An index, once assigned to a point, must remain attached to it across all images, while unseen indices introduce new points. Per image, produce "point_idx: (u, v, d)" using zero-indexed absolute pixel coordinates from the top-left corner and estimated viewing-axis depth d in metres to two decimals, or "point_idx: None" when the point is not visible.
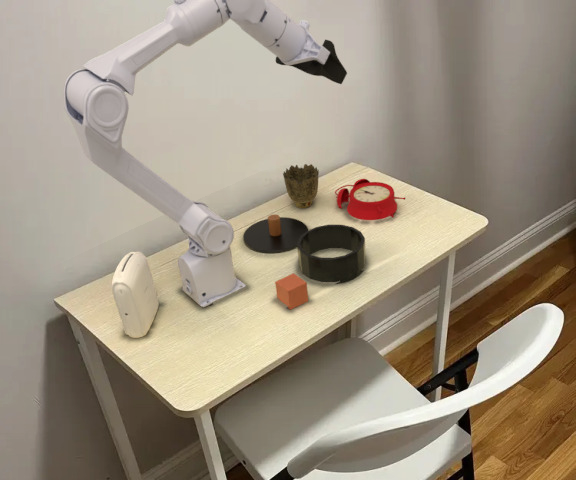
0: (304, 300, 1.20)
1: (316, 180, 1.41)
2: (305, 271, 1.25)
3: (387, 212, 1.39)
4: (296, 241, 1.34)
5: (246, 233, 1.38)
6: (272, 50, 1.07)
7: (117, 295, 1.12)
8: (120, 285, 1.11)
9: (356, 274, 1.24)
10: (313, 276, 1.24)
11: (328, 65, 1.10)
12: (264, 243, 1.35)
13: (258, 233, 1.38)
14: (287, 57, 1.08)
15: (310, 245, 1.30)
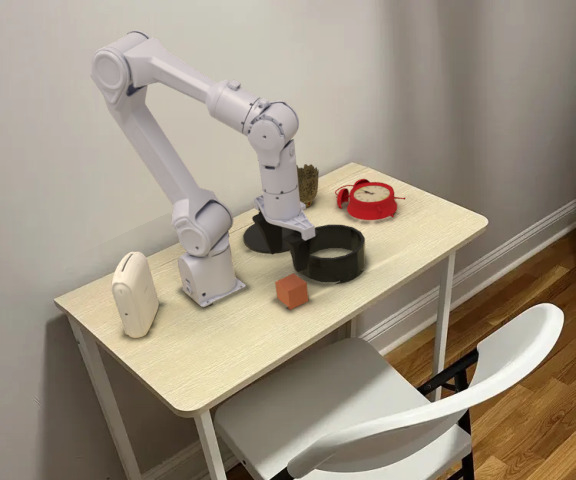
0: (304, 300, 1.20)
1: (316, 180, 1.41)
2: (305, 271, 1.25)
3: (387, 212, 1.39)
4: None
5: (246, 233, 1.38)
6: (269, 199, 1.06)
7: (117, 295, 1.12)
8: (120, 285, 1.11)
9: (356, 274, 1.24)
10: (313, 276, 1.24)
11: (301, 248, 1.10)
12: (264, 243, 1.35)
13: (258, 233, 1.38)
14: (275, 215, 1.07)
15: None
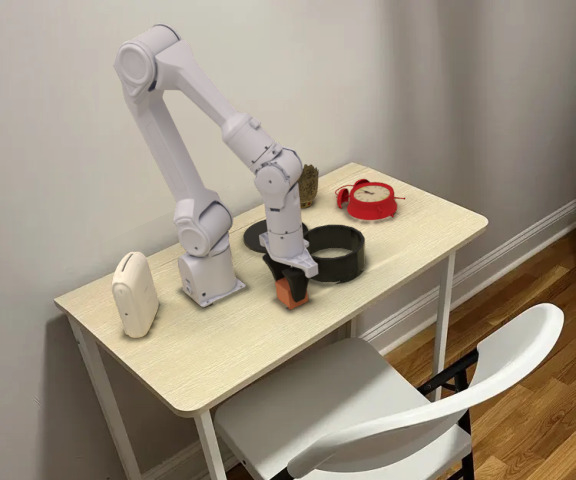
0: (304, 300, 1.20)
1: (316, 180, 1.41)
2: None
3: (387, 212, 1.39)
4: None
5: (246, 233, 1.38)
6: (274, 238, 1.10)
7: (117, 295, 1.12)
8: (120, 285, 1.11)
9: (356, 274, 1.24)
10: (313, 276, 1.24)
11: (299, 280, 1.16)
12: None
13: (258, 233, 1.38)
14: (280, 253, 1.12)
15: (310, 245, 1.30)
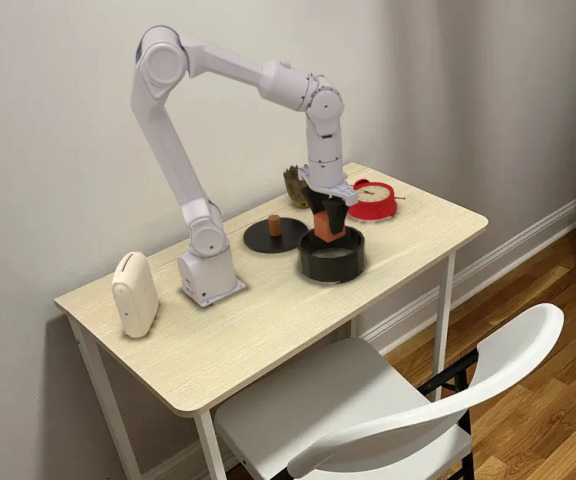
0: (341, 233, 1.23)
1: None
2: (305, 271, 1.25)
3: (387, 212, 1.39)
4: (296, 241, 1.34)
5: (246, 233, 1.38)
6: (315, 167, 1.13)
7: (117, 295, 1.12)
8: (120, 285, 1.11)
9: (356, 274, 1.24)
10: (313, 276, 1.24)
11: (337, 211, 1.18)
12: (264, 243, 1.35)
13: (258, 233, 1.38)
14: (320, 183, 1.14)
15: (310, 245, 1.30)
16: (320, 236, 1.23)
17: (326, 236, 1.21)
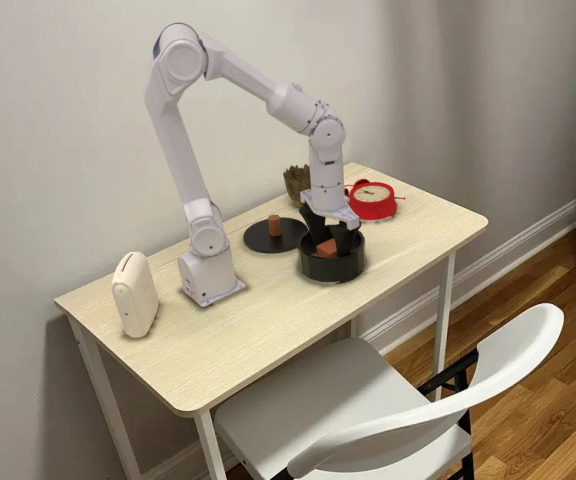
0: None
1: None
2: (305, 271, 1.25)
3: (387, 212, 1.39)
4: (296, 241, 1.34)
5: (246, 233, 1.38)
6: (318, 192, 1.16)
7: (117, 295, 1.12)
8: (120, 285, 1.11)
9: (356, 274, 1.24)
10: (313, 276, 1.24)
11: (344, 237, 1.20)
12: (264, 243, 1.35)
13: (258, 233, 1.38)
14: (322, 207, 1.17)
15: (310, 245, 1.30)
16: None
17: None
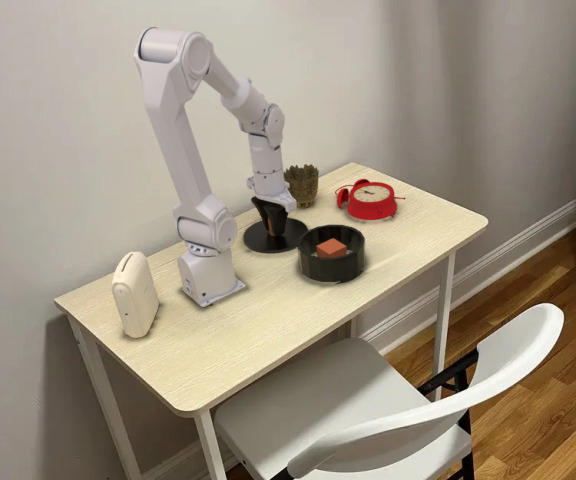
0: None
1: (316, 180, 1.41)
2: (305, 271, 1.25)
3: (387, 212, 1.39)
4: (296, 241, 1.34)
5: (246, 233, 1.38)
6: (258, 178, 1.27)
7: (117, 295, 1.12)
8: (120, 285, 1.11)
9: (356, 274, 1.24)
10: (313, 276, 1.24)
11: (278, 215, 1.33)
12: (264, 243, 1.35)
13: (258, 233, 1.38)
14: (263, 191, 1.28)
15: (310, 245, 1.30)
16: None
17: None
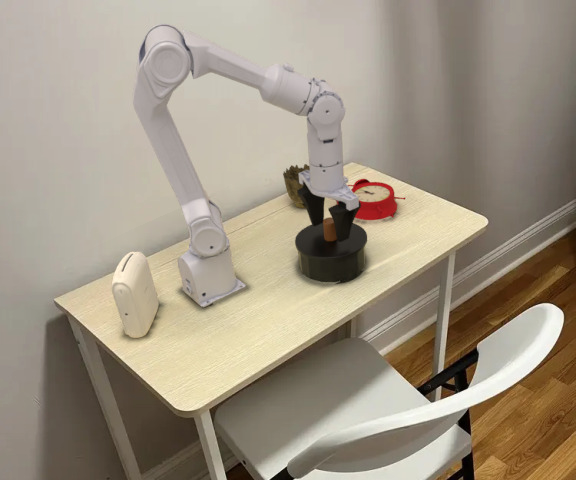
0: None
1: None
2: (305, 271, 1.25)
3: (387, 212, 1.39)
4: (355, 247, 1.21)
5: (298, 238, 1.26)
6: (316, 172, 1.14)
7: (117, 295, 1.12)
8: (120, 285, 1.11)
9: (356, 274, 1.24)
10: (313, 276, 1.24)
11: (344, 219, 1.18)
12: (319, 249, 1.22)
13: (311, 238, 1.25)
14: (321, 187, 1.15)
15: None
16: None
17: None
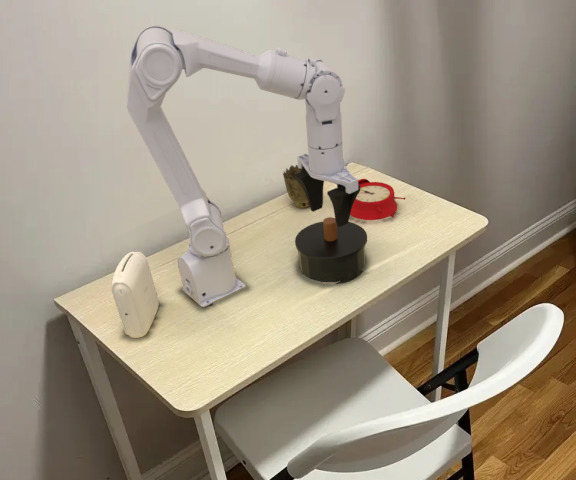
0: None
1: None
2: (305, 271, 1.25)
3: (387, 212, 1.39)
4: (355, 247, 1.21)
5: (298, 238, 1.26)
6: (315, 154, 1.11)
7: (117, 295, 1.12)
8: (120, 285, 1.11)
9: (356, 274, 1.24)
10: (313, 276, 1.24)
11: (343, 203, 1.16)
12: (319, 249, 1.22)
13: (311, 238, 1.25)
14: (320, 170, 1.13)
15: None
16: None
17: None
